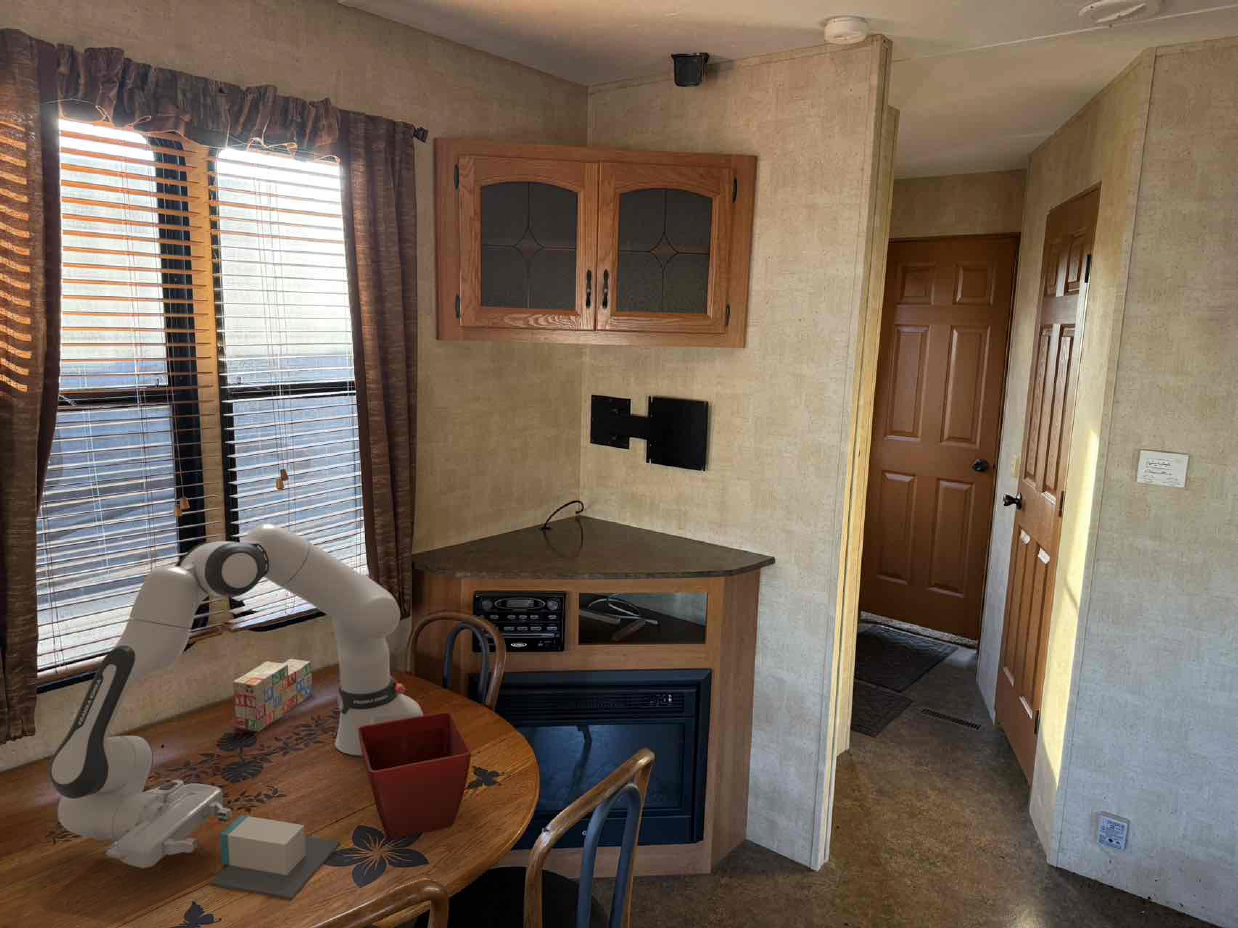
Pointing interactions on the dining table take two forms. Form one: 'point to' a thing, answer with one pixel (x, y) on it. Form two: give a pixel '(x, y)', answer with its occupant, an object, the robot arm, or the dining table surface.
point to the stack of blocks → (270, 692)
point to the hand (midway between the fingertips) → (212, 830)
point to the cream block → (263, 844)
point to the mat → (276, 882)
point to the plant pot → (416, 772)
